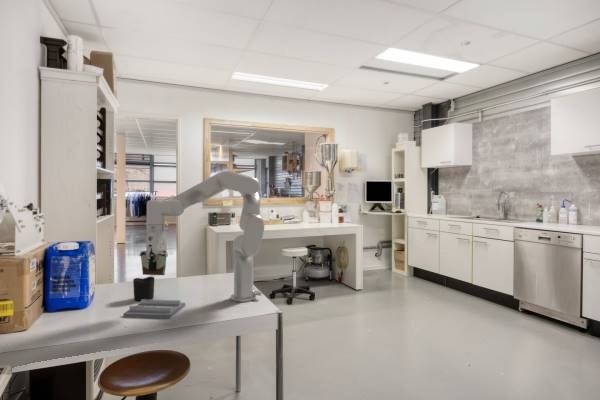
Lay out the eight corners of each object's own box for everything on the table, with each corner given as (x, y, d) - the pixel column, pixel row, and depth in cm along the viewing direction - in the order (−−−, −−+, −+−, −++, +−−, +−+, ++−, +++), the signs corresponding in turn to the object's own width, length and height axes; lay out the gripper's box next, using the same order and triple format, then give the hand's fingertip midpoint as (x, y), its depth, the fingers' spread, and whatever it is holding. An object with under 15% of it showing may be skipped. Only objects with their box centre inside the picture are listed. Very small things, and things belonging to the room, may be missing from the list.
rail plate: (185, 305, 158) (185, 298, 158) (169, 318, 142) (169, 310, 142) (143, 304, 160) (143, 297, 160) (123, 316, 144) (123, 308, 144)
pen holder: (146, 302, 162) (146, 281, 162) (128, 301, 164) (128, 280, 164) (158, 297, 171) (158, 277, 171) (141, 295, 173) (141, 276, 173)
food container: (173, 272, 154) (173, 249, 153) (166, 275, 147) (166, 252, 147) (147, 271, 155) (147, 249, 155) (139, 274, 149) (139, 251, 149)
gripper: (154, 230, 141) (154, 274, 142) (172, 226, 159) (172, 265, 159) (137, 230, 142) (137, 273, 142) (157, 226, 159) (156, 265, 159)
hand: (155, 268), depth 151 cm, fingers closed on food container, 5 cm apart
